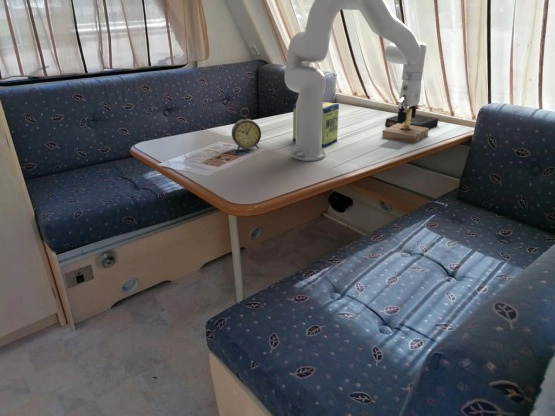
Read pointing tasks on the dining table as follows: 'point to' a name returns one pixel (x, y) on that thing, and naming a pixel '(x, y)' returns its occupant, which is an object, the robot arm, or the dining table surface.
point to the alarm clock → (246, 133)
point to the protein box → (324, 123)
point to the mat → (393, 144)
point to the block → (405, 133)
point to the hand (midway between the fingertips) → (406, 119)
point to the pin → (407, 120)
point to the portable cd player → (415, 121)
